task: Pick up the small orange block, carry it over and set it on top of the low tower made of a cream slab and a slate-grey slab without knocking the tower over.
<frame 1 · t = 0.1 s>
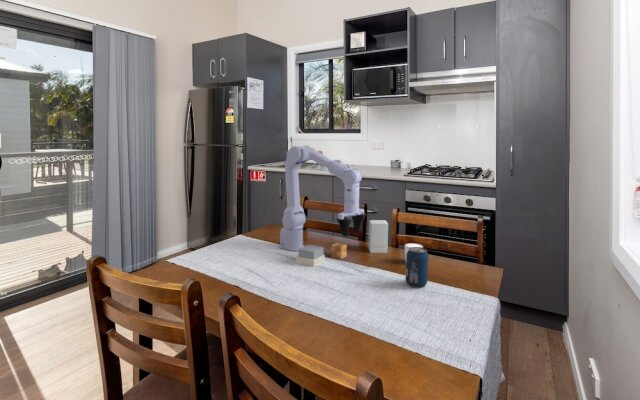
hand: (351, 234, 154), 10 cm above the table, tool pointing down, fingers open, 7 cm apart
supplement box: (377, 251, 167), on the table
cream base block: (310, 263, 152), on the table, touching slate top block
orange block: (339, 256, 159), on the table
slate top block: (311, 255, 151), point 3 cm above the table, touching cream base block
soda can: (416, 285, 129), on the table
white cylinder: (412, 263, 151), on the table
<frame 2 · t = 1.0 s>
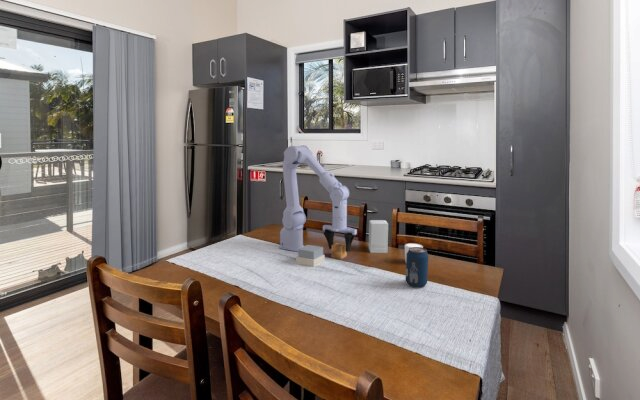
hand: (339, 249, 158), 3 cm above the table, tool pointing down, fingers open, 7 cm apart
nothing on the table moved.
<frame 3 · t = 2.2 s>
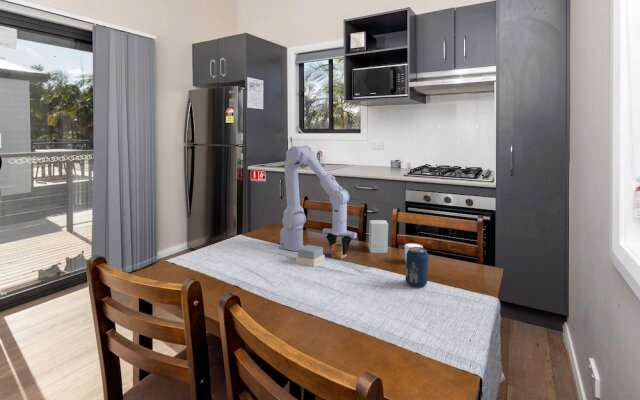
hand: (339, 253, 159), 1 cm above the table, tool pointing down, fingers closed on orange block, 4 cm apart
cream base block: (310, 263, 152), on the table
orange block: (339, 256, 159), on the table, touching gripper
slate top block: (310, 255, 151), point 3 cm above the table
everything else where it was.
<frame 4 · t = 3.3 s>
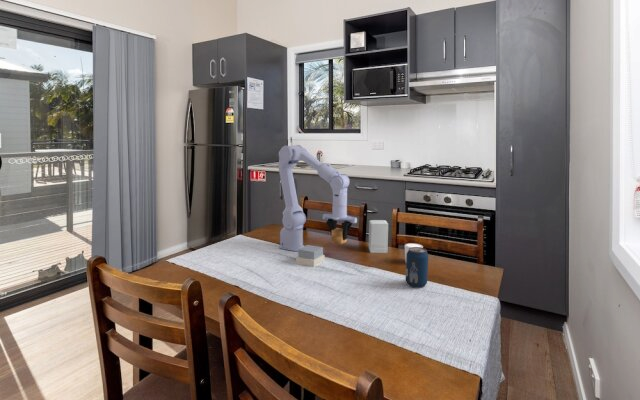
hand: (339, 238, 158), 8 cm above the table, tool pointing down, fingers closed on orange block, 4 cm apart
cream base block: (310, 263, 152), on the table, touching slate top block
orange block: (339, 241, 158), point 6 cm above the table, touching gripper
slate top block: (310, 255, 151), point 2 cm above the table, touching cream base block
everything else where it was.
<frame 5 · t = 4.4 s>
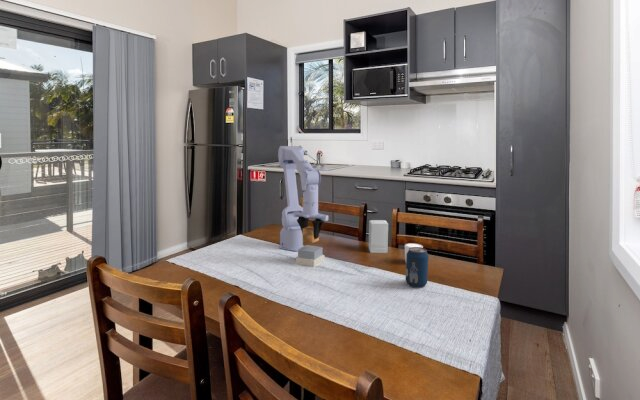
hand: (310, 237, 150), 10 cm above the table, tool pointing down, fingers closed on orange block, 4 cm apart
orange block: (310, 240, 150), point 8 cm above the table, touching gripper
everything else where it was.
when the fingers open (8 cm above the table, at t = 5.6 s): orange block drops 1 cm, resting on slate top block.
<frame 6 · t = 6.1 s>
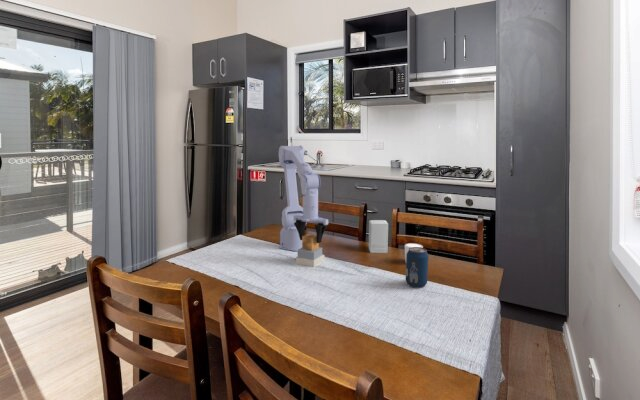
hand: (310, 241, 150), 8 cm above the table, tool pointing down, fingers open, 7 cm apart
orange block: (310, 248, 150), point 6 cm above the table, touching slate top block
slate top block: (310, 256, 151), point 3 cm above the table, touching cream base block, orange block
everything else where it was.
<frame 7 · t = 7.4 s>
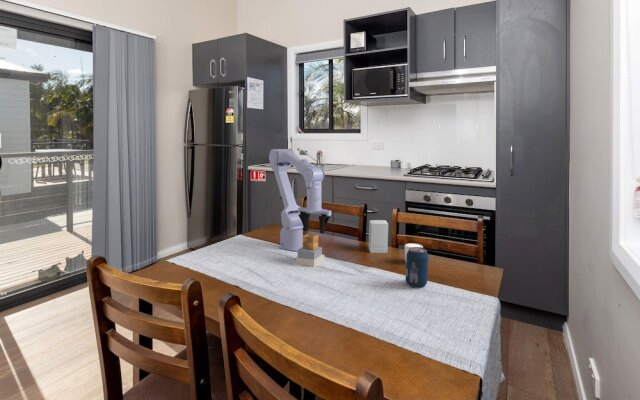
hand: (314, 231, 156), 10 cm above the table, tool pointing down, fingers open, 7 cm apart
orange block: (310, 248, 151), point 6 cm above the table
slate top block: (309, 256, 151), point 3 cm above the table, touching cream base block
everything else where it was.
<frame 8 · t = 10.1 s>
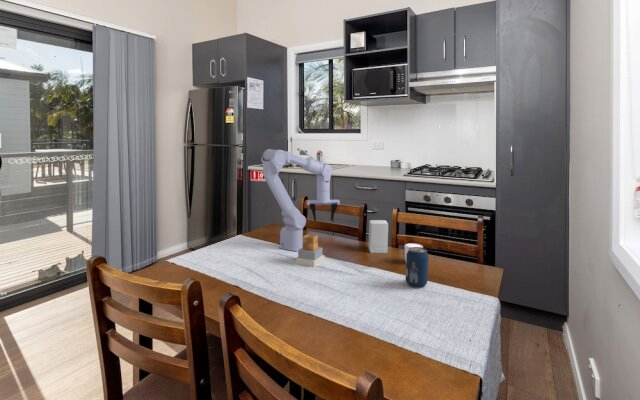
hand: (323, 220, 177), 10 cm above the table, tool pointing down, fingers open, 7 cm apart
orange block: (310, 248, 150), point 5 cm above the table, touching slate top block
slate top block: (310, 256, 151), point 2 cm above the table, touching cream base block, orange block
everything else where it was.
at the end: orange block 0.1 cm off-centre on the slate top block, point 3.0 cm above the slate top block's base; slate top block moved 0.7 cm from its start; orange block tilted 0° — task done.
